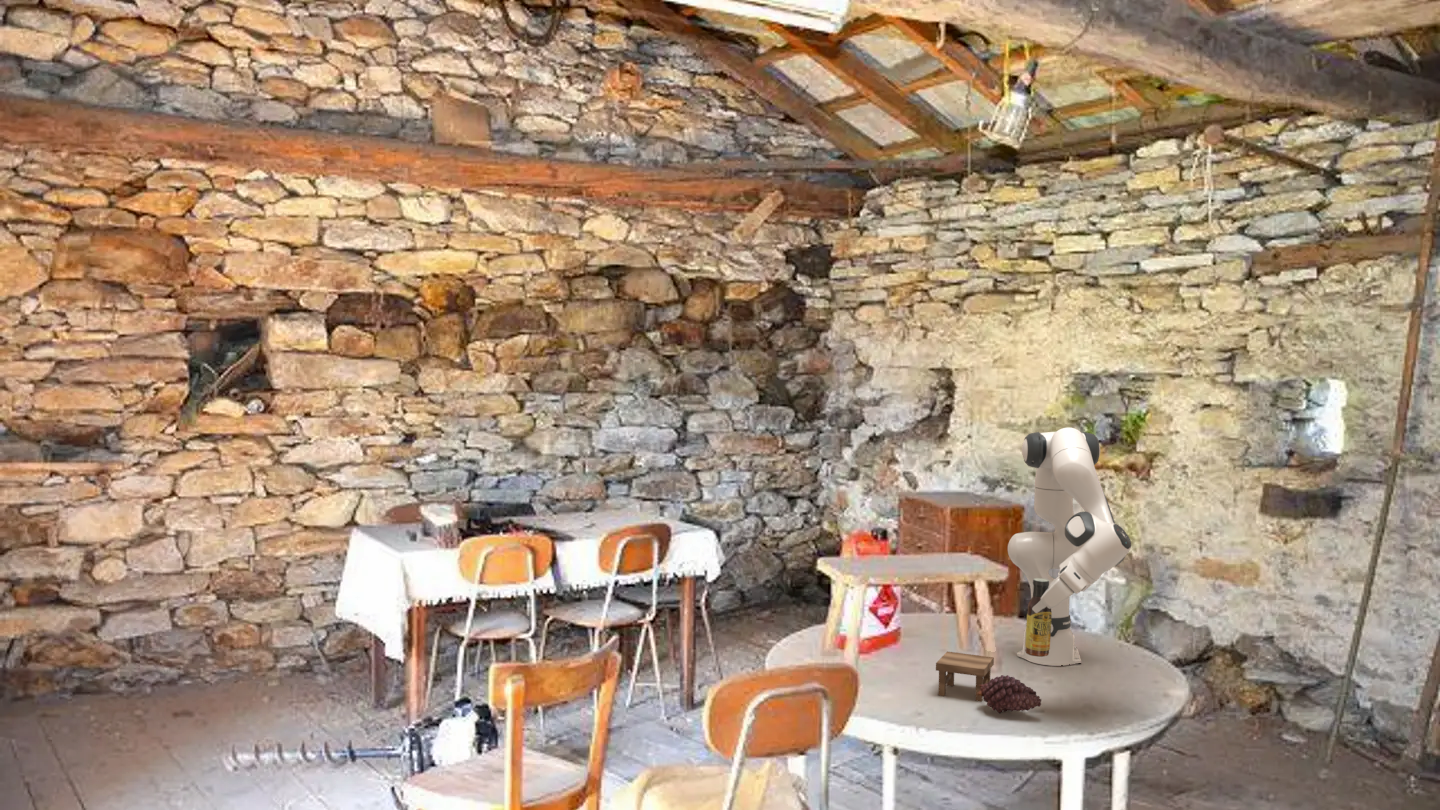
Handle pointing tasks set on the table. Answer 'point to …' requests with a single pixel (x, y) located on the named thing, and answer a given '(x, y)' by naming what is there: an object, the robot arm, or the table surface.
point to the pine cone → (1008, 695)
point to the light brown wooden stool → (963, 670)
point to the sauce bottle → (1038, 622)
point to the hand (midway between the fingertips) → (1036, 607)
